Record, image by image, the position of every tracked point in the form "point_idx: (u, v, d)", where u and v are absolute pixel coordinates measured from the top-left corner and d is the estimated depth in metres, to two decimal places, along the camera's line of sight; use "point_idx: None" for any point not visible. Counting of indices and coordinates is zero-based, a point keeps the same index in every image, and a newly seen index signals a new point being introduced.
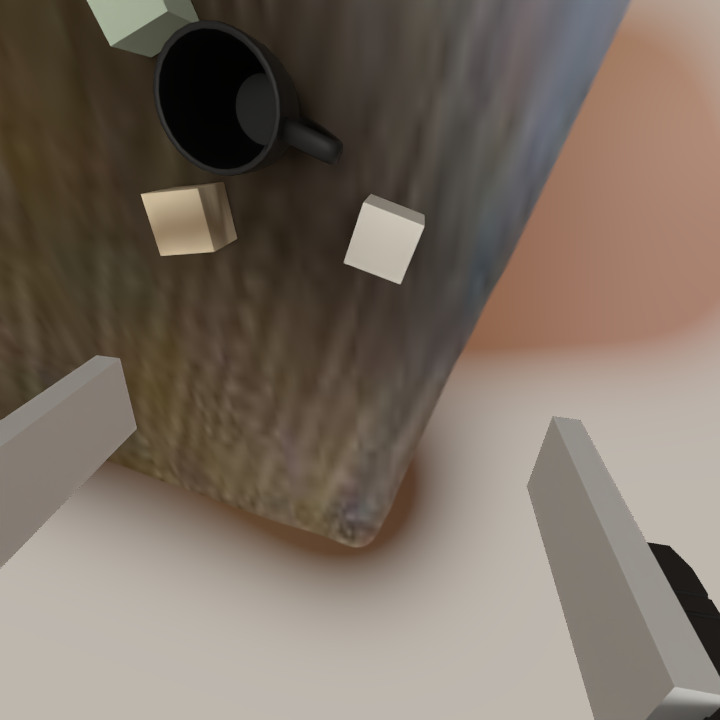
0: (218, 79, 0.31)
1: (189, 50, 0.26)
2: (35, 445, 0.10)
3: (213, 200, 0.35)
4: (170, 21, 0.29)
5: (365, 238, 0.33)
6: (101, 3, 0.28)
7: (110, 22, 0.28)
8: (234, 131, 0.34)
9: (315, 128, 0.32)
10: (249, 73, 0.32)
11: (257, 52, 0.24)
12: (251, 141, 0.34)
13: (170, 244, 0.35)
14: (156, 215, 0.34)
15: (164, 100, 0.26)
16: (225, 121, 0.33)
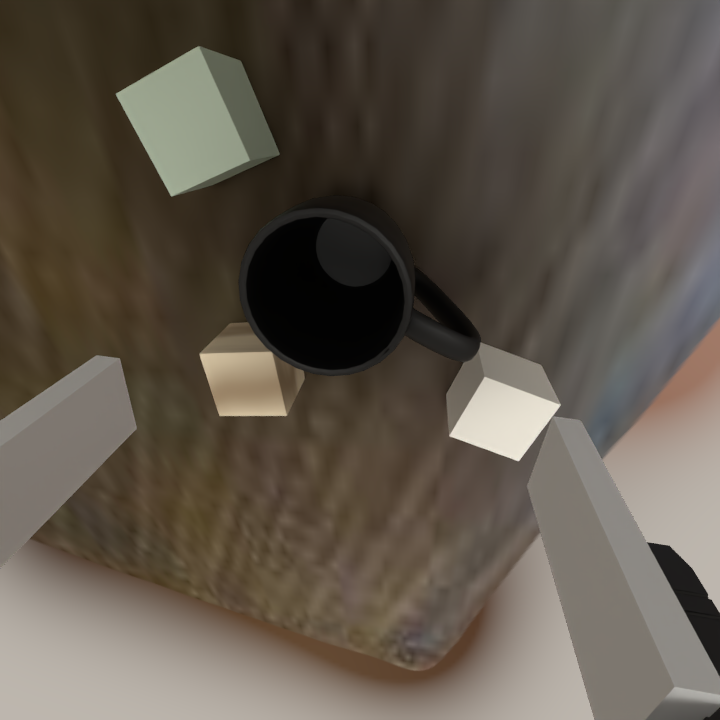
0: (304, 227, 0.24)
1: None
2: (35, 445, 0.10)
3: None
4: (248, 163, 0.22)
5: (481, 413, 0.26)
6: (162, 148, 0.21)
7: (172, 170, 0.22)
8: (315, 275, 0.27)
9: (422, 282, 0.25)
10: None
11: (390, 248, 0.17)
12: (333, 282, 0.28)
13: (232, 405, 0.29)
14: (217, 376, 0.28)
15: (251, 289, 0.20)
16: (306, 267, 0.26)
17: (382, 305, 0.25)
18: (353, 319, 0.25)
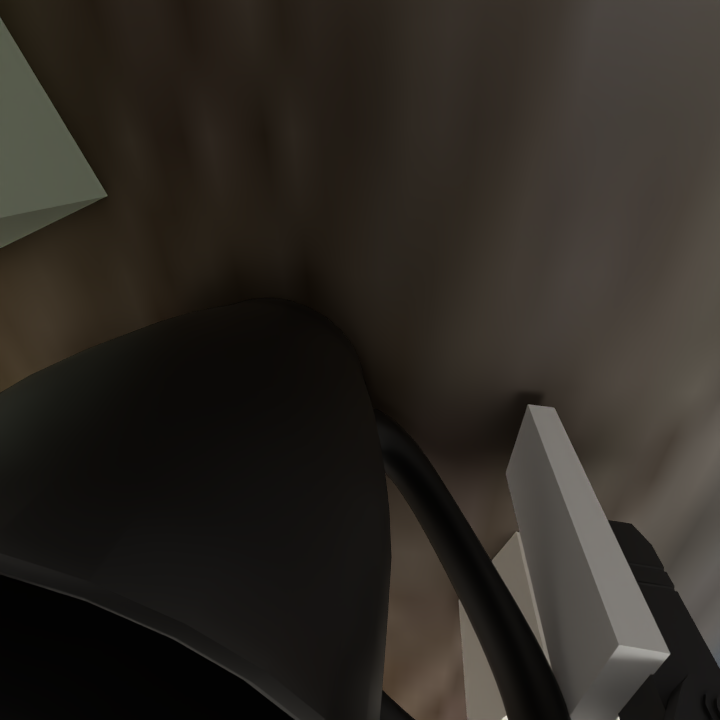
0: None
1: None
2: None
3: None
4: None
5: None
6: None
7: None
8: None
9: (416, 473, 0.12)
10: None
11: (258, 687, 0.04)
12: None
13: None
14: None
15: None
16: None
17: None
18: None
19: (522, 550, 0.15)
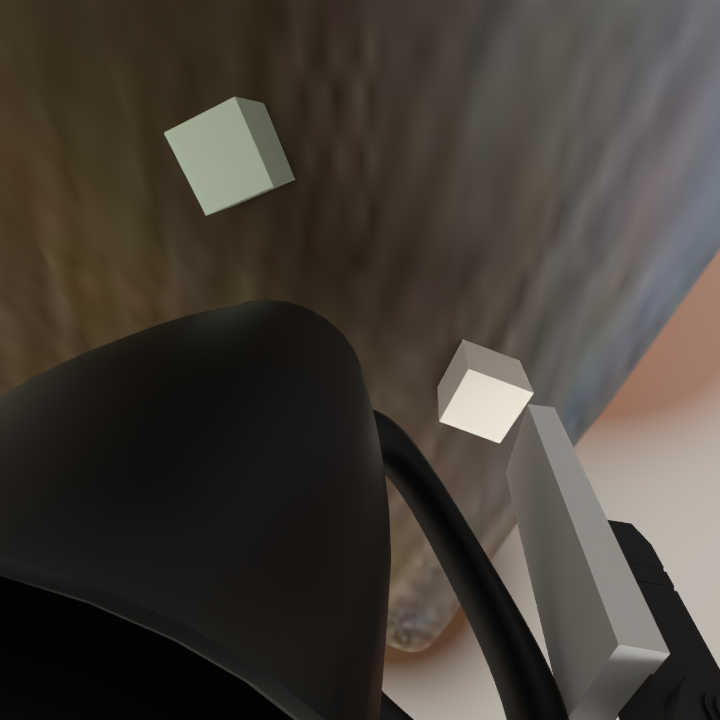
0: None
1: None
2: None
3: None
4: (270, 188, 0.27)
5: (466, 400, 0.31)
6: (200, 176, 0.26)
7: (208, 194, 0.26)
8: None
9: (415, 474, 0.12)
10: None
11: (260, 688, 0.04)
12: None
13: None
14: None
15: None
16: None
17: None
18: None
19: (464, 343, 0.33)
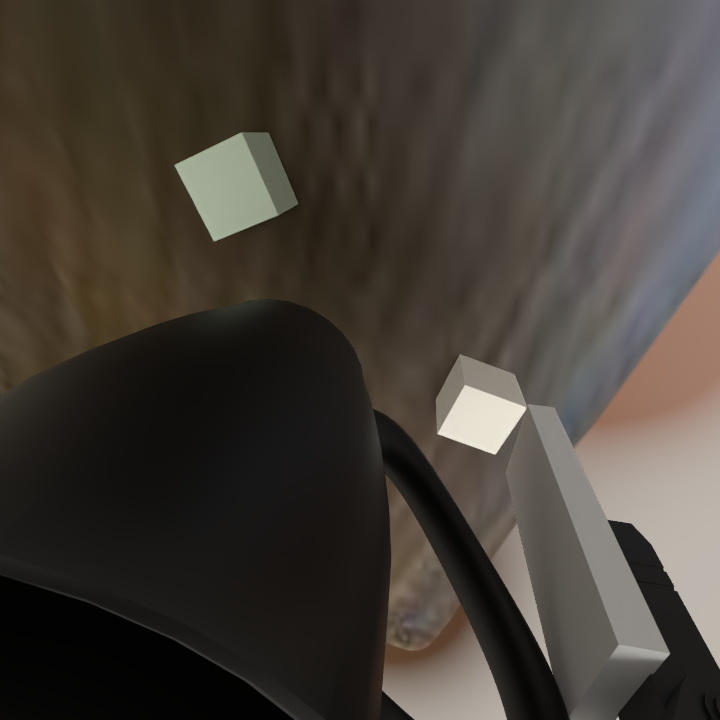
0: None
1: None
2: None
3: None
4: None
5: (463, 415, 0.32)
6: (208, 205, 0.27)
7: (216, 221, 0.27)
8: None
9: (416, 474, 0.12)
10: None
11: (260, 687, 0.04)
12: None
13: None
14: None
15: None
16: None
17: None
18: None
19: (461, 358, 0.34)
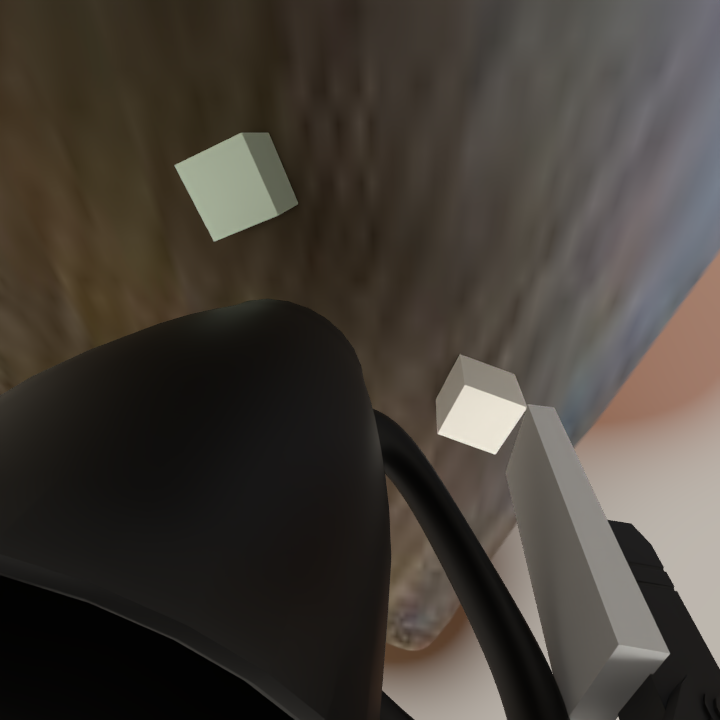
0: None
1: None
2: None
3: None
4: None
5: (463, 414, 0.32)
6: (208, 205, 0.27)
7: (216, 222, 0.27)
8: None
9: (416, 474, 0.12)
10: None
11: (260, 687, 0.04)
12: None
13: None
14: None
15: None
16: None
17: None
18: None
19: (461, 358, 0.34)
